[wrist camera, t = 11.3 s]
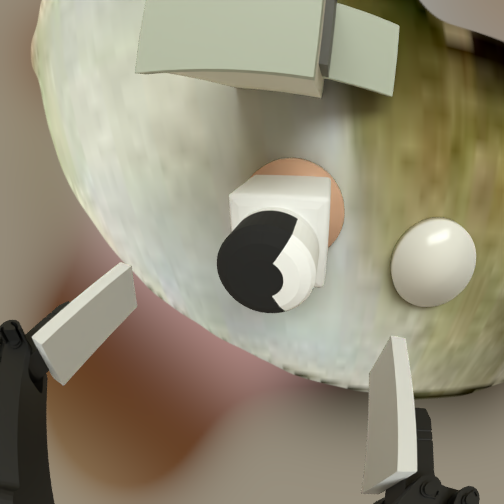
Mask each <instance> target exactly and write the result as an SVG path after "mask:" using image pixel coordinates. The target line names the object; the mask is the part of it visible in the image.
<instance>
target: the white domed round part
mask: <svg viewBox="0 0 504 504" xmlns="http://www.w3.org/2000/svg"><path fill="white" fill-rule="evenodd" d="M475 264H476V250H475V246H474V243H473V240H472V238H471V237H470V235H469V234H468V233H467V231H466V230H465V229H464V228H463V227H462V226H461V225H459V224H458V223H457V222H455V221H453V220H451V219H448V218H444V217H432V218H428V219H425V220H422V221H420V222H418V223H416V224H414V225H413V226H411V227H410V228H409V229H408V230H407V231H406V232H405V233H404V234H403V235H402V236H401V237H400V239H399V240H398V242H397V244H396V245H395V248H394V250H393V253H392V256H391V263H390V269H391V275H392V279H393V283H394V286H395V288H396V290H397V292H398V293H399V295H400V296H401V297H402V298H403V299H404V300H406V301H407V302H409V303H411V304H413V305H416V306H421V307H433V306H438V305H441V304H444V303H446V302H448V301H450V300H451V299H453V298H454V297H456V296H457V295H458V294H459V293H460V292H461V291H462V290H463V289H464V288H465V287H466V285H467V284H468V282H469V281H470V279H471V277H472V274H473V272H474V268H475Z"/></svg>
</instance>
